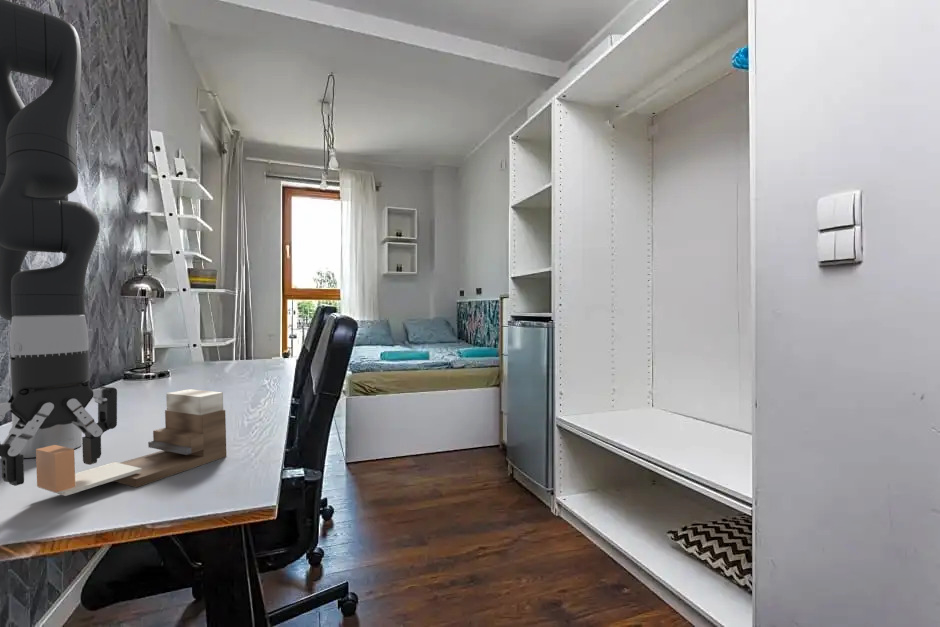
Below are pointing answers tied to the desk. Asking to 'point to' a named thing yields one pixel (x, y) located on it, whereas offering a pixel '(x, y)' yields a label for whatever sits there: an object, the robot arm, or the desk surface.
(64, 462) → the plank with orange cube
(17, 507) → the desk surface
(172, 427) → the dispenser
